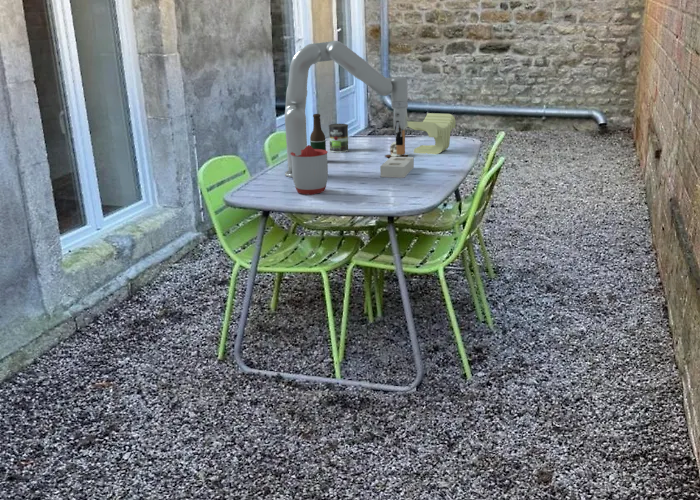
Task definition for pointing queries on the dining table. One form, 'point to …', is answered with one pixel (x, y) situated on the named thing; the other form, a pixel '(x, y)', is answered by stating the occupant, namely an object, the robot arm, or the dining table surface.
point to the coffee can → (338, 137)
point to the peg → (401, 147)
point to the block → (397, 167)
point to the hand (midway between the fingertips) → (400, 143)
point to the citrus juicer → (310, 170)
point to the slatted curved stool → (435, 131)
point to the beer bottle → (317, 134)
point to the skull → (394, 151)
